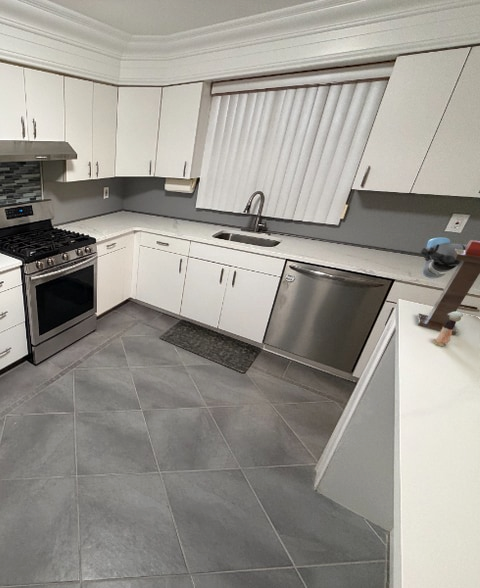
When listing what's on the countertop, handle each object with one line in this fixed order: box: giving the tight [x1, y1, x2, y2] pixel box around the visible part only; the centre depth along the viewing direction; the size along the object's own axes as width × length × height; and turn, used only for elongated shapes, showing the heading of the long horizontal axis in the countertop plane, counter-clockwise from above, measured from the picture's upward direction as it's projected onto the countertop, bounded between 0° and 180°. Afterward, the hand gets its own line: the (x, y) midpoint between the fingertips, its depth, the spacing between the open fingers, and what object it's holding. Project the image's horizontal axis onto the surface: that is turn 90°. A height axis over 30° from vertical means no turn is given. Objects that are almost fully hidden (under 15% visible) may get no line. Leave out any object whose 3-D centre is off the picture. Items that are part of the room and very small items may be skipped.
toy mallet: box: [464, 239, 480, 256], centre depth 113 cm, size 15×6×4 cm, turn 137°
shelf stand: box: [416, 249, 480, 336], centre depth 116 cm, size 12×10×29 cm
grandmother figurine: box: [432, 311, 464, 347], centre depth 108 cm, size 8×4×13 cm, turn 137°
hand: (460, 251), depth 128 cm, fingers open, 13 cm apart
